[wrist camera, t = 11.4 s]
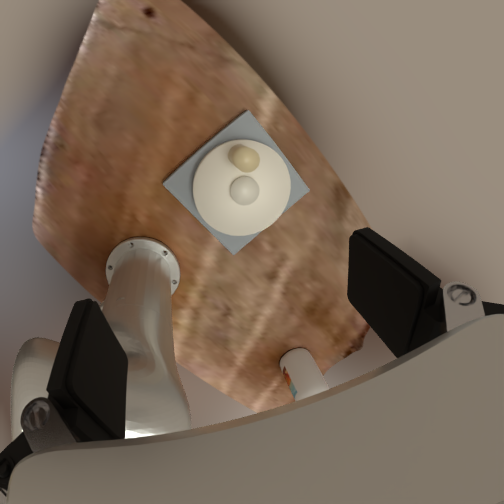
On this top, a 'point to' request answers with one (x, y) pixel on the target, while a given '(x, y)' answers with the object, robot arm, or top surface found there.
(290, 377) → the milk bottle
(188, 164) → the base board
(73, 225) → the top surface
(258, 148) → the dial
